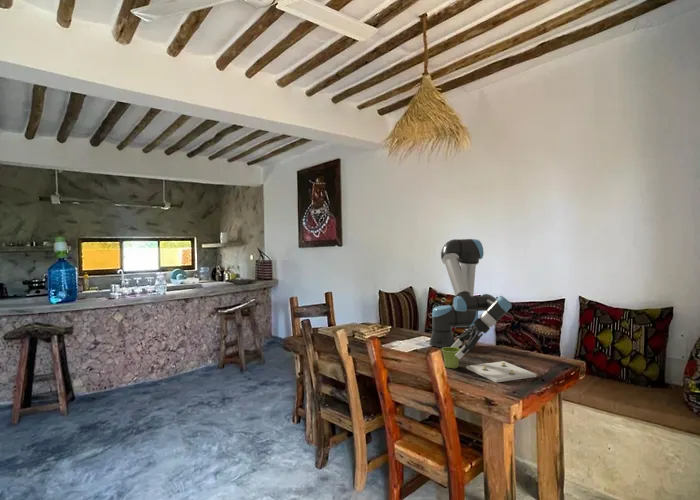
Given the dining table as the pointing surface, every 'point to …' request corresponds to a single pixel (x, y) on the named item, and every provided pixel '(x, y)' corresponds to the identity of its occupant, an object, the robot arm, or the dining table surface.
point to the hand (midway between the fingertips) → (454, 353)
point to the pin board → (501, 371)
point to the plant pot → (450, 356)
